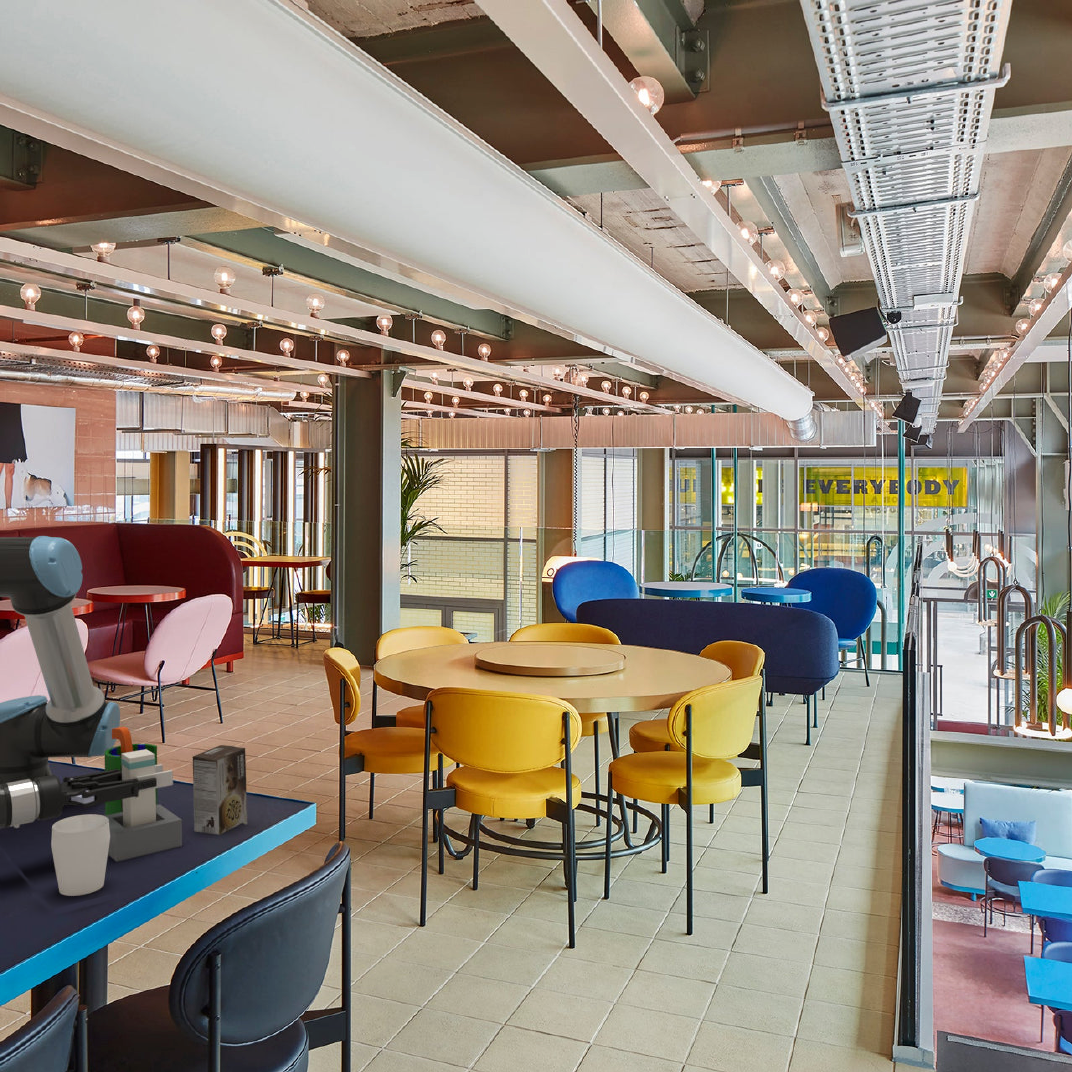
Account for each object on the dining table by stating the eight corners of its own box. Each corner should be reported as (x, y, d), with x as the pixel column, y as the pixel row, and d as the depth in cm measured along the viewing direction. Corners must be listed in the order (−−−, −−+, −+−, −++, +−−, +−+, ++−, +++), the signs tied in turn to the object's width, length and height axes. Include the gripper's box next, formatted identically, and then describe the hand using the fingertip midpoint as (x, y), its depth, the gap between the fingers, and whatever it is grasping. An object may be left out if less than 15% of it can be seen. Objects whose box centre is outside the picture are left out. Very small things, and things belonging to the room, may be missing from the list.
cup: (67, 909, 157) (66, 837, 156) (42, 893, 162) (41, 824, 161) (121, 891, 164) (120, 822, 163) (94, 877, 169) (93, 810, 169)
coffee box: (222, 821, 198) (220, 744, 198) (248, 824, 196) (247, 746, 195) (192, 836, 190) (191, 755, 189) (219, 840, 188) (218, 758, 187)
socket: (96, 848, 183) (95, 817, 183) (160, 833, 191) (159, 804, 191) (116, 867, 174) (115, 834, 174) (182, 850, 182) (181, 819, 182)
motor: (134, 835, 190) (131, 736, 189) (94, 832, 192) (91, 733, 191) (163, 818, 200) (161, 723, 199) (125, 816, 202) (123, 722, 201)
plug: (123, 836, 182) (121, 753, 182) (148, 830, 185) (146, 749, 185) (131, 843, 179) (129, 758, 178) (156, 837, 182) (154, 754, 181)
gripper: (22, 808, 177) (151, 783, 192) (48, 834, 163) (184, 804, 179) (21, 768, 176) (150, 746, 192) (46, 790, 163) (183, 764, 178)
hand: (166, 774), depth 185 cm, fingers closed on plug, 5 cm apart
